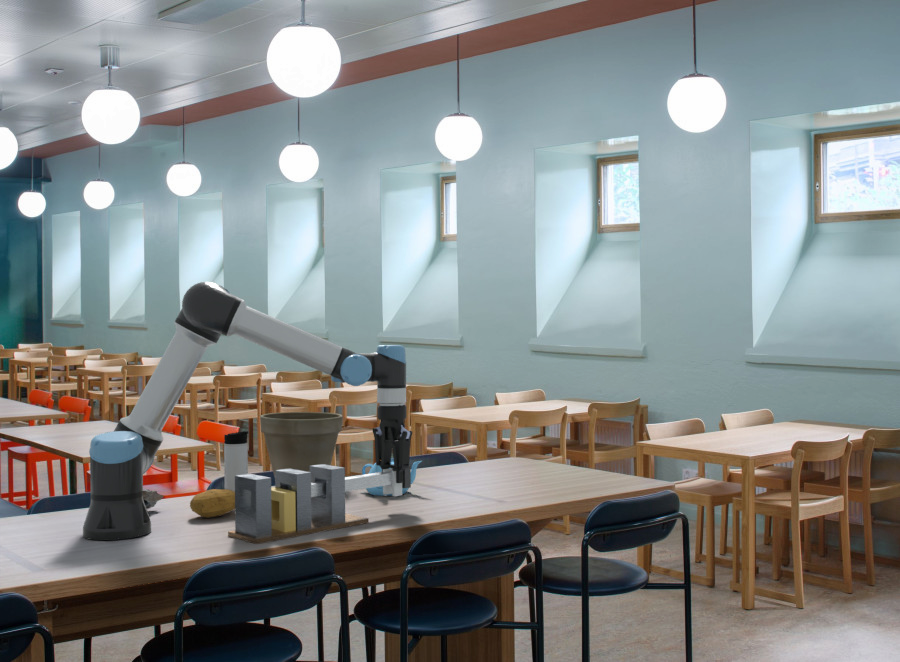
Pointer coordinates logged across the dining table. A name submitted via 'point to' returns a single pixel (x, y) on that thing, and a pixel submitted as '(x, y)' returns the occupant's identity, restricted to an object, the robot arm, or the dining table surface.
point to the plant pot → (300, 438)
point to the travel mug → (235, 457)
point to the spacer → (283, 509)
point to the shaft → (363, 482)
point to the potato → (213, 502)
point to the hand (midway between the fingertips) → (392, 494)
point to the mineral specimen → (150, 498)
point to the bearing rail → (310, 511)
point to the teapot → (377, 469)
